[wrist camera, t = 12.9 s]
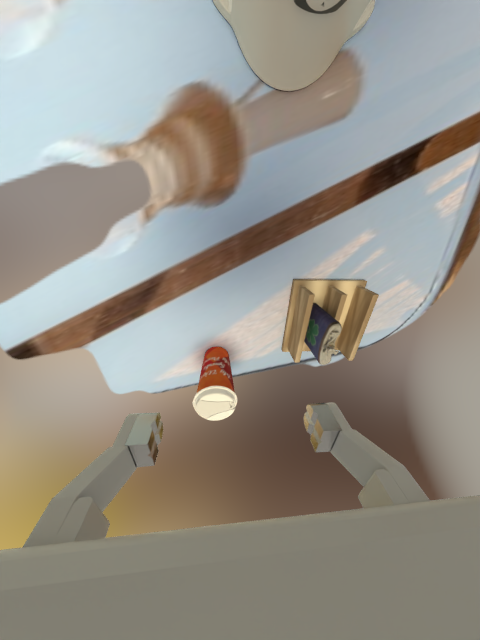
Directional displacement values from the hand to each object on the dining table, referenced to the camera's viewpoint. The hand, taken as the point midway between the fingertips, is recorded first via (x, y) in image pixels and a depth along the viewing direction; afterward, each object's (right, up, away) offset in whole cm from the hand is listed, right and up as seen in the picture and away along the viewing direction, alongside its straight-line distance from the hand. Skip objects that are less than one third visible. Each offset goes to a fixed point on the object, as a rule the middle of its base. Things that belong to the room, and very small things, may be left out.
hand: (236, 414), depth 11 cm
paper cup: (-5, -3, +34) cm, 35 cm away
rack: (+18, +6, +32) cm, 37 cm away
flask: (+15, +5, +31) cm, 35 cm away
